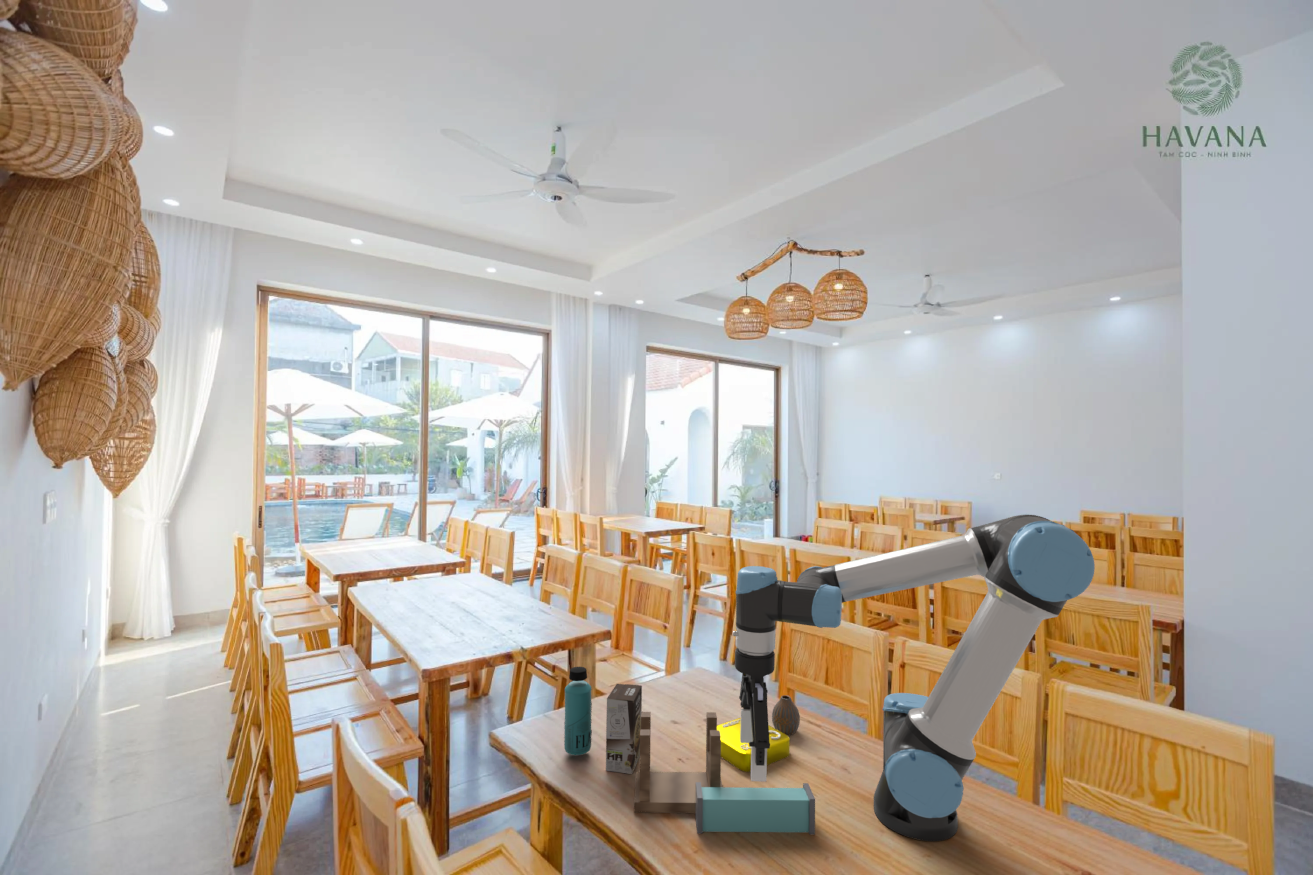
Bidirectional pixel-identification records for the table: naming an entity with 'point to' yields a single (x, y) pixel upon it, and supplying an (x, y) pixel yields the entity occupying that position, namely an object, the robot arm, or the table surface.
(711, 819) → the teal bar
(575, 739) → the beverage bottle
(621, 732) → the coffee box
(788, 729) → the vase
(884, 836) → the table surface
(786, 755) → the element tile
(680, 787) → the rack
